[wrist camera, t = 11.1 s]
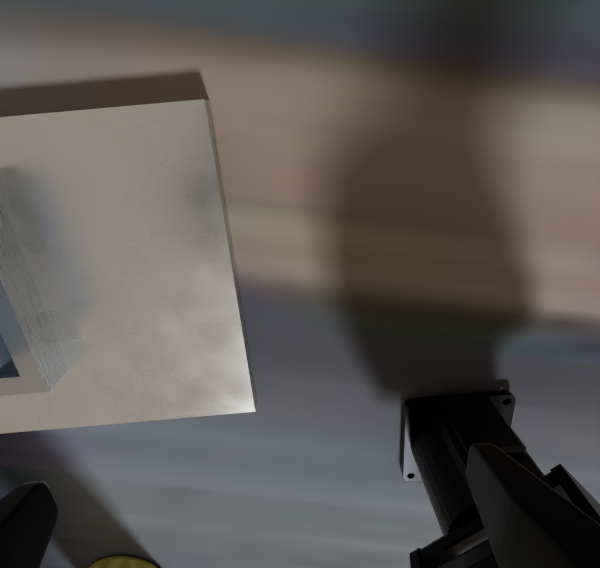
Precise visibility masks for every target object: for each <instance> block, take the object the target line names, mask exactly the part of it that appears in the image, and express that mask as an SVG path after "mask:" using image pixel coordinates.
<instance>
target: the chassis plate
mask: <svg viewBox="0 0 600 568" xmlns="http://www.w3.org/2000/svg"><path fill="white" fill-rule="evenodd" d="M0 334H1V336H2V338H3V340H4V342H5V344H6V347H7V349H8V351H9V353H10V355H11V357H12V358H11V359H10V360H9V361H8V362H7V363H5V364H4V365H3V366H2V367H1V368H0V434H3V433H15V432H26V431H38V430H49V429H61V428H72V427H84V426H95V425H107V424H118V423H130V422H141V421H153V420H164V419H176V418H187V417H199V416H210V415H222V414H233V413H245V412H256V402H257V398H256V392H255V385H254V379H253V373H252V366H251V360H250V354H249V348H248V341H247V335H246V329H245V322H244V316H243V310H242V304H241V297H240V291H239V285H238V279H237V272H236V266H235V260H234V253H233V247H232V241H231V235H230V228H229V222H228V216H227V210H226V203H225V197H224V191H223V184H222V178H221V172H220V166H219V159H218V153H217V147H216V140H215V134H214V128H213V122H212V115H211V109H210V103H209V100H205V99H200V100H189V101H178V102H166V103H155V104H144V105H132V106H121V107H110V108H98V109H87V110H76V111H64V112H53V113H42V114H30V115H19V116H7V117H0Z"/></svg>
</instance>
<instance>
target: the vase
mask: <svg viewBox="0 0 600 568" xmlns="http://www.w3.org/2000/svg"><path fill="white" fill-rule="evenodd" d="M89 568H158V567H156V566H155V565H154V564H152V563H150V562H148V561H146V560H143V559H140V558H136V557H132V556H111V557H107V558H104V559H101V560H99V561H96V562H95V563H93V564H92V565H91V566H90V567H89Z"/></svg>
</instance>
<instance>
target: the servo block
mask: <svg viewBox="0 0 600 568" xmlns="http://www.w3.org/2000/svg"><path fill="white" fill-rule="evenodd" d="M11 358H12V357H11V355H10V353H9V351H8V349H7V347H6V344H5V342H4V340H3V338H2V336H1V334H0V368H1V367H2V366H3V365H4V364H5V363H7V362H8V361H9V360H10V359H11Z"/></svg>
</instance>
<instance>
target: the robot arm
mask: <svg viewBox="0 0 600 568" xmlns="http://www.w3.org/2000/svg"><path fill="white" fill-rule="evenodd" d="M505 399H506V400H505ZM414 406H416V407H415V408H412V407H414ZM514 406H515V397H514V396H513V395H512V394H511V392H509V391H505V390H504V391H493V392H481V393H470V394H458V395H447V396H435V397H424V398H412V399H409V400H407V401H406V402H405V404H404V419H403V445H402V475H403V478H404V479H405V480H406V481H420V480H423V483H424V486H425V488H426V491H427V493H428V496H429V499H430V501H431V504H432V506H433V509H434V512H435V514H436V517H437V520H438V522H439V525H440V527H441V530H442V533H443V535H444V536H442V537H441V538H439V539H437V540H436V541H434V542H432V543H431V544H429V545H427V546H425V547H424V548H422V549H420V548H418V549H416V550H415V551H413V552H411V553H410V564H411V568H600V504H599V503H598V502H597V501H596V500H595V499H594V498H593V497H592V496H591V495H590V494H589V493H588V492H587V491H586V490H585V488H584V487H583V486H582V485H581V484H580V483H579V482H578V481H577V480H576V479H575V478H574V477H573V476H572V475H571V474H570V473H569V472H568V471H567V470H566V469H565V468H564V467H563V466H562V465H561V464H559V465H557V466H556V467H554V468H552V469H550V471H551V472H550V473H548V474H547V475H545V476H544V474H543V473H542V472H541V470H540V469H539V468H538V466H537V465H536V463H535V462H534V461H533V459H532V458H531V457H530V455H529V454H528V453H527V451H526V447H525V445H524V444H523V443H522V441H521V440H520V439H519V437H518V436H517V435H516V433H515V432H514V431H513V429H512V428H511V422H512V417H513V411H514ZM58 511H59V510H58V505H57V503H56V501H55V499H54V497H53V495H52V493H51V491H50V489H49V487H48V485H47V483H45V482H44V481H36V482H26V483H23V484H21V485H19V486H18V487H16V488H15V489H14V490H12V491H11V492H10V493H9V494H7V495H6V496H5V497H3V498H2V499H1V500H0V568H40V565H41V563H42V560H43V557H44V555H45V552H46V549H47V546H48V544H49V541H50V538H51V535H52V533H53V530H54V527H55V524H56V522H57V518H58Z"/></svg>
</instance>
